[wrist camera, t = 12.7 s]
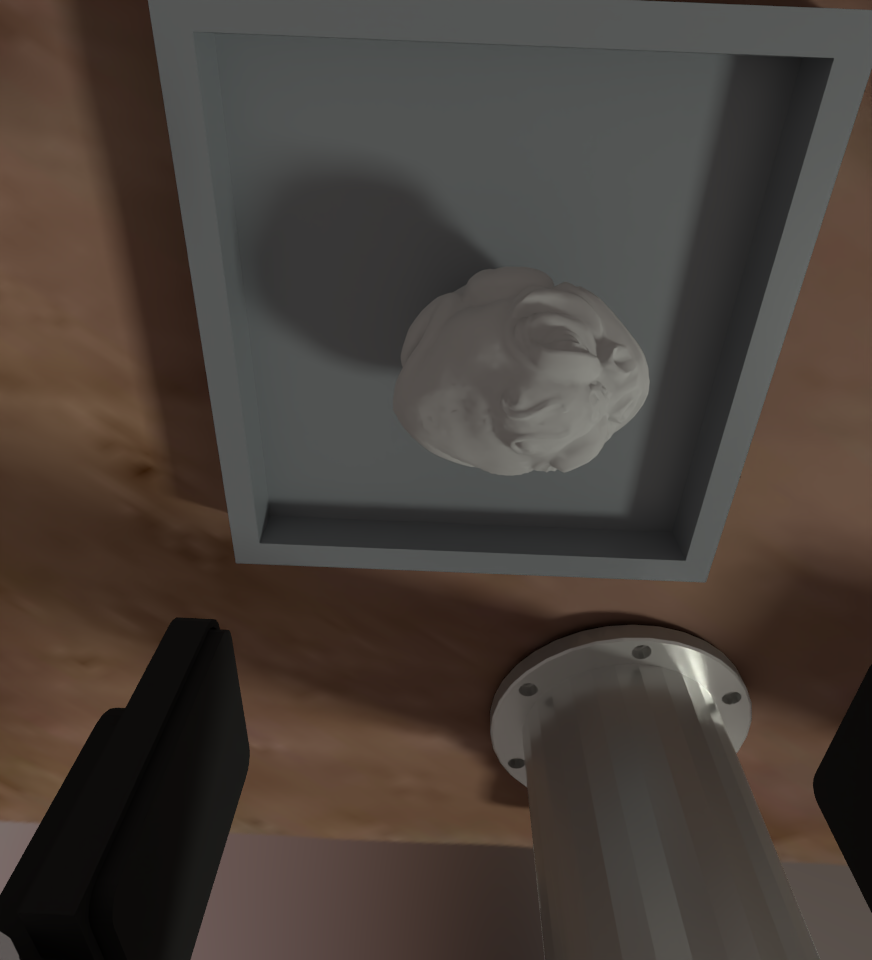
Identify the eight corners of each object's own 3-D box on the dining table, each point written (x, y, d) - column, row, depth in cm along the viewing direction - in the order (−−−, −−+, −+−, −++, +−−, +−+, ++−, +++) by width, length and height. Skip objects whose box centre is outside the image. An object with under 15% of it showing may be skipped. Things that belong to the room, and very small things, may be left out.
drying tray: (684, 538, 28) (705, 582, 26) (254, 520, 28) (235, 563, 26) (834, 16, 19) (890, 11, 16) (183, -11, 19) (144, -21, 16)
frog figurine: (617, 390, 24) (673, 501, 18) (424, 432, 25) (416, 550, 19) (595, 212, 21) (654, 274, 15) (375, 269, 22) (347, 348, 16)
